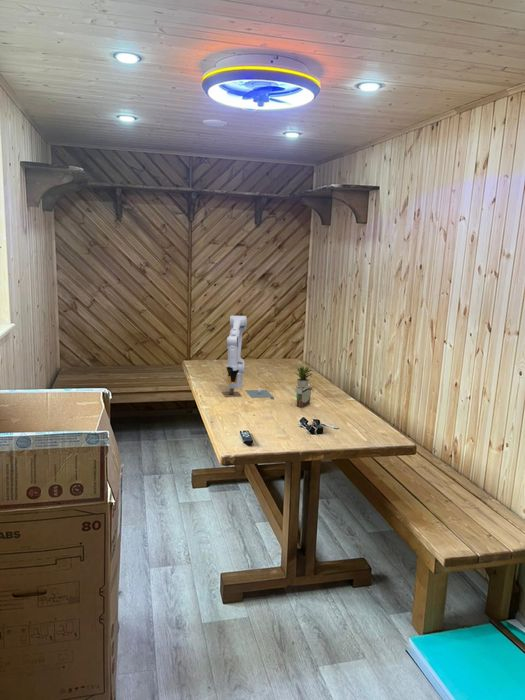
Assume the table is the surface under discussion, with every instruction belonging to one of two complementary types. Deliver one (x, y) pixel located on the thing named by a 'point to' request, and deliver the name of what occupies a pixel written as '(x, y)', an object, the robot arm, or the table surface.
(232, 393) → the stand
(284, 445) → the table surface
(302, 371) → the house plant
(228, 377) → the collar
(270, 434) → the table surface
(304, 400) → the food container
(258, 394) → the board
